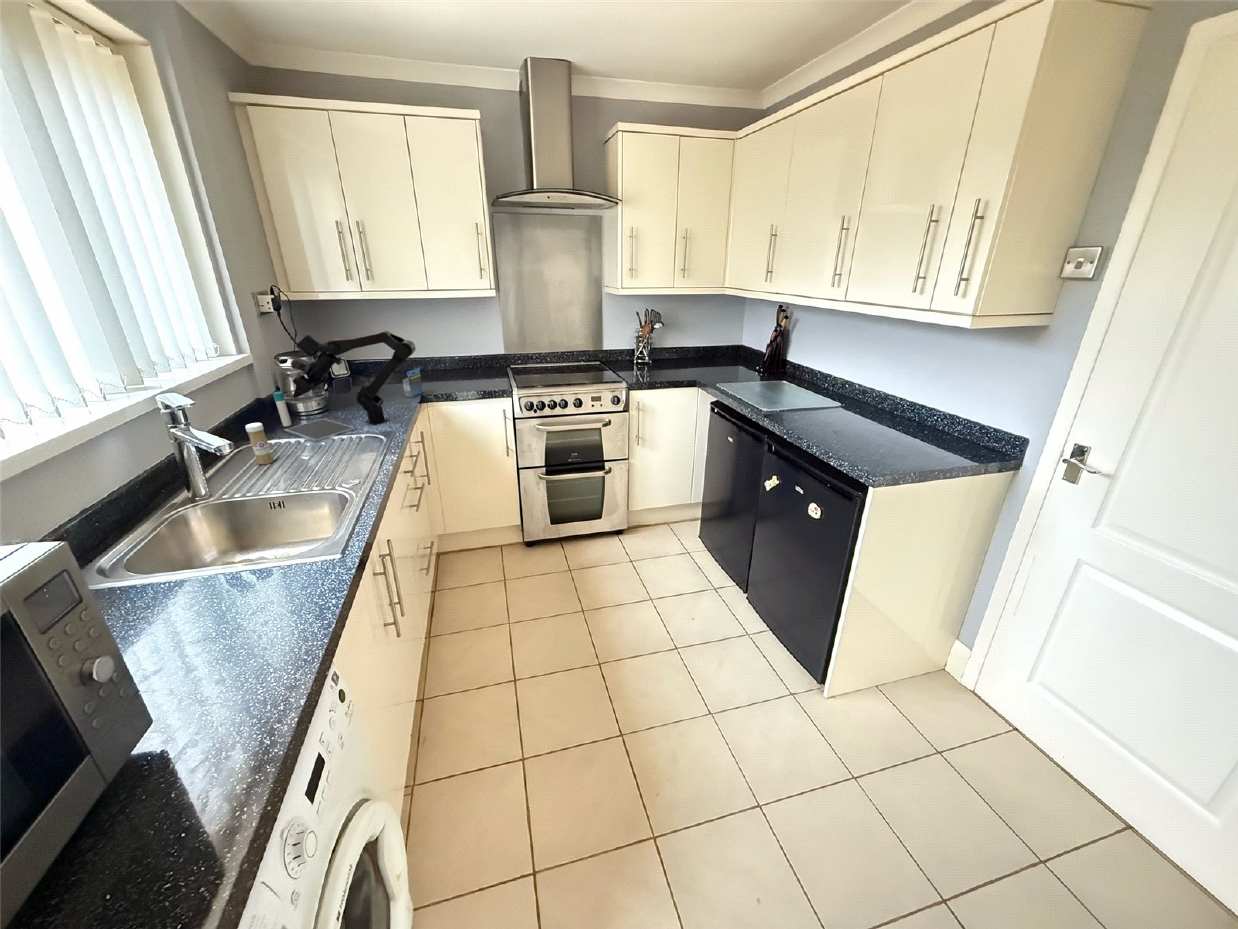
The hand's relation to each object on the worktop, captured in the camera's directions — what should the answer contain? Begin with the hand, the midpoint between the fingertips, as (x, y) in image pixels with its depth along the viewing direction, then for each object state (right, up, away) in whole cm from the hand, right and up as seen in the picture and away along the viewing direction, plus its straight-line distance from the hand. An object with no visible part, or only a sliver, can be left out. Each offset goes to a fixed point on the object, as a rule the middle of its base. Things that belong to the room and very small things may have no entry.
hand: (299, 394), depth 193 cm
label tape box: (+27, +6, +45) cm, 53 cm away
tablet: (+8, -14, 0) cm, 17 cm away
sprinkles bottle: (+7, -27, -28) cm, 40 cm away
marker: (-7, -12, +4) cm, 15 cm away
